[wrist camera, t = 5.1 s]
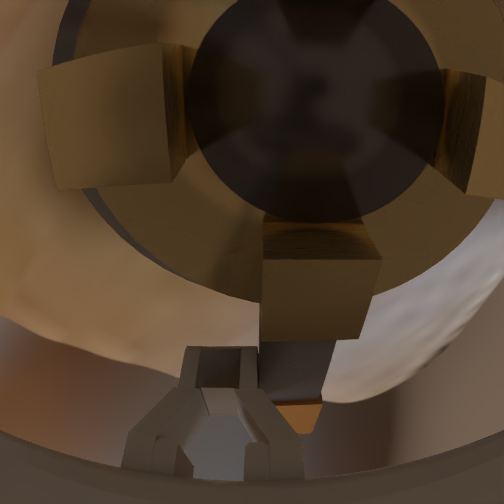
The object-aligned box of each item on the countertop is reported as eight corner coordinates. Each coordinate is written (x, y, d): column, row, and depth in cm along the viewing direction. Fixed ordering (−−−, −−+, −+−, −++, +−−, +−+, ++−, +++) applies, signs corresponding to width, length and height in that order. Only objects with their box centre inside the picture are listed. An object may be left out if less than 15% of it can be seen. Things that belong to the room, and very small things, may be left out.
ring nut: (119, -56, 4) (39, -100, 1) (464, -30, 4) (556, -42, 1) (179, 378, 13) (167, 452, 10) (376, 375, 13) (393, 445, 10)
